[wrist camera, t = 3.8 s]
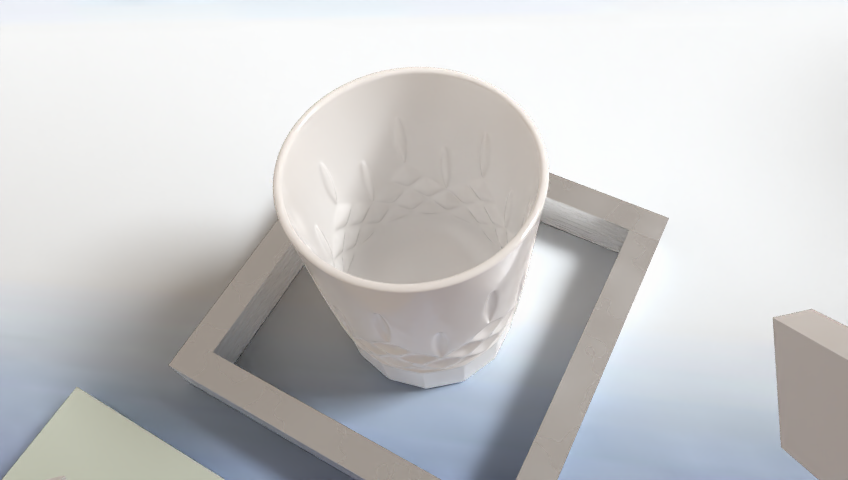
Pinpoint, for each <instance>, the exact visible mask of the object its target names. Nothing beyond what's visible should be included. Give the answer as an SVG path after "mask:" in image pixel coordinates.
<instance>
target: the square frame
mask: <svg viewBox="0 0 848 480" xmlns="http://www.w3.org/2000/svg"><path fill="white" fill-rule="evenodd" d="M668 219H669V218H667V217H665V216H662V215H659V214H657V213H654V212H651V211H649V210H646V209H644V208H641V207H638V206H636V205H633V204H630V203H628V202H625V201H623V200H620V199H617V198H615V197H612V196H609V195H607V194H604V193H601V192H599V191H596V190H594V189H591V188H588V187H586V186H583V185H580V184H578V183H575V182H573V181H570V180H567V179H565V178H562V177H559V176H557V175H554V174H552V173H549V183H548V190H547V195H546V199H545V203H544V207H543V211H542V215H541V219H540V222H543V223H545V224H548V225H550V226H553V227H555V228H558V229H560V230H563V231H565V232H568V233H570V234H572V235H575V236H577V237H580V238H582V239H585V240H587V241H590V242H592V243H595V244H597V245H600V246H602V247H604V248H607V249H609V250H612V251H614V252H617V253H619V254H618V256H617V259H616V261H615V263H614V265H613V267H612V270H611V272H610V274H609V276H608V278H607V281H606V283H605V285H604V287H603V289H602V292H601V294H600V296H599V298H598V300H597V303H596V305H595V307H594V309H593V311H592V314H591V316H590V318H589V320H588V322H587V325H586V327H585V329H584V331H583V333H582V336H581V338H580V340H579V342H578V344H577V347H576V349H575V351H574V353H573V355H572V358H571V360H570V362H569V364H568V366H567V368H566V371H565V373H564V375H563V377H562V379H561V382H560V384H559V386H558V388H557V390H556V393H555V395H554V397H553V399H552V401H551V404H550V406H549V408H548V410H547V412H546V415H545V417H544V419H543V421H542V423H541V426H540V428H539V430H538V432H537V434H536V437H535V439H534V441H533V443H532V445H531V448H530V450H529V452H528V454H527V456H526V459H525V461H524V463H523V465H522V467H521V470H520V472H519V474H518V476H517V478H516V480H557V479H558V477H559V474H560V472H561V470H562V467H563V465H564V463H565V460H566V458H567V456H568V453H569V451H570V449H571V446H572V444H573V442H574V439H575V437H576V435H577V432H578V430H579V428H580V425H581V423H582V421H583V418H584V416H585V413H586V411H587V409H588V406H589V404H590V402H591V399H592V397H593V395H594V392H595V390H596V388H597V385H598V383H599V381H600V378H601V376H602V374H603V371H604V369H605V367H606V364H607V362H608V360H609V357H610V355H611V353H612V350H613V348H614V346H615V343H616V341H617V339H618V336H619V334H620V332H621V329H622V327H623V324H624V322H625V320H626V317H627V315H628V313H629V310H630V308H631V306H632V303H633V301H634V299H635V296H636V294H637V292H638V289H639V287H640V285H641V282H642V280H643V278H644V275H645V273H646V271H647V268H648V266H649V264H650V261H651V259H652V257H653V254H654V252H655V250H656V247H657V245H658V243H659V240H660V238H661V235H662V233H663V231H664V228H665V226H666V224H667V221H668ZM303 265H304V264H303V262H302V260H301V258H300V257H299V255H298V253H297V252H296V250H295V248H294V247H293V245H292V243H291V242H290V240H289V238H288V237H287V235H286V233H285V231H284V230H283V228H282V225H281V223H280V221H279V219H278V220H277V221H276V223H275V224H274V225H273V227H272V228H271V229H270V231H269V232H268V233H267V235H266V236H265V237H264V239H263V240H262V241H261V243H260V244H259V245H258V247H257V248H256V249H255V251H254V252H253V253H252V255H251V256H250V257H249V259H248V260H247V261H246V263H245V264H244V265H243V267H242V268H241V269H240V271H239V272H238V273H237V275H236V276H235V277H234V279H233V280H232V281H231V283H230V284H229V285H228V287H227V288H226V289H225V291H224V292H223V293H222V295H221V296H220V297H219V299H218V300H217V301H216V303H215V304H214V305H213V307H212V308H211V309H210V311H209V312H208V313H207V315H206V316H205V317H204V319H203V320H202V321H201V323H200V324H199V325H198V327H197V328H196V329H195V330H194V332H193V333H192V334H191V336H190V337H189V338H188V340H187V341H186V342H185V344H184V345H183V346H182V348H181V349H180V350H179V352H178V353H177V354H176V356H175V357H174V358H173V360H172V361H171V362H170V364H169V366H170V367H171V368H172V369H173V370H175V371H176V372H177V373H178V374H179V375H181V376H182V377H183V378H184V379H185V380H187V381H188V382H189V383H191V384H193V385H194V386H196V387H198V388H199V389H201V390H203V391H205V392H206V393H208V394H210V395H211V396H213V397H215V398H217V399H218V400H220V401H222V402H223V403H225V404H227V405H229V406H230V407H232V408H234V409H235V410H237V411H239V412H241V413H242V414H244V415H246V416H247V417H249V418H251V419H253V420H254V421H256V422H258V423H259V424H261V425H263V426H265V427H266V428H268V429H270V430H271V431H273V432H275V433H277V434H278V435H280V436H282V437H283V438H285V439H287V440H289V441H290V442H292V443H294V444H295V445H297V446H299V447H301V448H302V449H304V450H306V451H307V452H309V453H311V454H313V455H314V456H316V457H318V458H319V459H321V460H323V461H325V462H326V463H328V464H330V465H331V466H333V467H335V468H337V469H338V470H340V471H342V472H343V473H345V474H347V475H349V476H350V477H352V478H354V479H355V480H441V479H439V478H437V477H435V476H434V475H432V474H430V473H428V472H426V471H425V470H423V469H421V468H419V467H417V466H416V465H414V464H412V463H410V462H408V461H407V460H405V459H403V458H401V457H400V456H398V455H396V454H394V453H392V452H391V451H389V450H387V449H385V448H383V447H382V446H380V445H378V444H376V443H374V442H373V441H371V440H369V439H367V438H365V437H364V436H362V435H360V434H358V433H357V432H355V431H353V430H351V429H349V428H348V427H346V426H344V425H342V424H340V423H339V422H337V421H335V420H333V419H331V418H330V417H328V416H326V415H324V414H322V413H321V412H319V411H317V410H315V409H314V408H312V407H310V406H308V405H306V404H305V403H303V402H301V401H299V400H297V399H296V398H294V397H292V396H290V395H288V394H287V393H285V392H283V391H281V390H279V389H278V388H276V387H274V386H272V385H271V384H269V383H267V382H265V381H263V380H262V379H260V378H258V377H256V376H254V375H253V374H251V373H249V372H247V371H245V370H244V369H242V368H240V367H238V366H236V365H235V364H234V363H235V362H236V360H237V359H238V357H239V356H240V355H241V353H242V352H243V350H244V349H245V348H246V346H247V345H248V343H249V342H250V340H251V339H252V338H253V336H254V335H255V333H256V332H257V330H258V329H259V328H260V326H261V325H262V323H263V322H264V321H265V319H266V318H267V316H268V315H269V313H270V312H271V311H272V309H273V308H274V306H275V305H276V304H277V302H278V301H279V299H280V298H281V296H282V295H283V294H284V292H285V291H286V289H287V288H288V286H289V285H290V284H291V282H292V281H293V279H294V278H295V277H296V275H297V274H298V272H299V271H300V269H301V268H302V267H303Z"/></svg>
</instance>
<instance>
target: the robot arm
mask: <svg viewBox="0 0 848 480" xmlns="http://www.w3.org/2000/svg"><path fill="white" fill-rule="evenodd" d="M773 329H774V345H775V361H776V376H777V392H778V408H779V424H780V440H781V448H783V449H784V450H785V451H786V452H787V453H788V454H790V455H791V456H792V457H793V458H794V459H795V460H797V461H798V462H799V463H800V464H801V465H802V466H803V467H805V468H806V469H807V470H808V471H809V472H810V473H812V474H813V475H814V476H815V477H816V478H817V479H819V480H848V327H847V326H845V325H843V324H841V323H839V322H837V321H835V320H833V319H831V318H829V317H827V316H825V315H823V314H821V313H819V312H817V311H815V310H813V309H809V310H805V311H800V312H796V313H791V314H787V315H782V316H778V317H773ZM46 480H66V477H65V475H64V476H59V477H55V478H50V479H46Z"/></svg>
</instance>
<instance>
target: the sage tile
mask: <svg viewBox="0 0 848 480" xmlns="http://www.w3.org/2000/svg"><path fill="white" fill-rule="evenodd" d="M64 475H65V477H66V480H225V479H223V478H222V477H220V476H219V475H217V474H215V473H214V472H212V471H211V470H209V469H207V468H206V467H204V466H203V465H201V464H200V463H198V462H196V461H195V460H193V459H192V458H190V457H188V456H187V455H185V454H184V453H182V452H180V451H179V450H177V449H176V448H174V447H172V446H171V445H169V444H168V443H166V442H164V441H163V440H161V439H160V438H158V437H156V436H155V435H153V434H152V433H150V432H148V431H147V430H145V429H144V428H142V427H141V426H139V425H137V424H136V423H134V422H133V421H131V420H129V419H128V418H126V417H125V416H123V415H121V414H120V413H118V412H117V411H115V410H113V409H112V408H110V407H109V406H107V405H105V404H104V403H102V402H101V401H99V400H97V399H96V398H94V397H93V396H91V395H89V394H88V393H86V392H84V391H83V390H81V389H79V388H78V387H76V388H75V390H74V391H73V392H72V393H71V395H70V396H69V397H68V398H67V400H66V401H65V402H64V403H63V404H62V406H61V407H60V408H59V409H58V411H57V412H56V413H55V414H54V416H53V417H52V418H51V419H50V421H49V422H48V423H47V424H46V426H45V427H44V428H43V429H42V430H41V432H40V433H39V434H38V435H37V437H36V438H35V439H34V440H33V442H32V443H31V444H30V445H29V447H28V448H27V449H26V450H25V452H24V453H23V454H22V455H21V456H20V458H19V459H18V460H17V461H16V463H15V464H14V465H13V466H12V468H11V469H10V470H9V471H8V473H7V474H6V475H5V476H4V478H3V479H2V480H46V479H50V478H55V477H59V476H64Z"/></svg>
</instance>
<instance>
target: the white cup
mask: <svg viewBox="0 0 848 480" xmlns="http://www.w3.org/2000/svg"><path fill="white" fill-rule="evenodd" d="M548 183H549V163H548V157H547V152H546V148H545V145H544V142H543V139H542V137H541V134H540V132H539V130H538V129H537V127H536V125H535V123H534V122H533V120H532V119H531V118H530V116H529V115H528V114H527V112H526V111H525V110H524V109H523V108H522V107H521V106H520V105H519V104H518V103H517V102H516V101H515V100H514V99H512V98H511V97H510V96H509V95H507V94H506V93H505V92H503V91H502V90H500V89H499V88H497V87H495V86H493V85H492V84H490V83H488V82H486V81H484V80H481V79H479V78H477V77H474V76H471V75H468V74H465V73H462V72H458V71H453V70H448V69H442V68H433V67H406V68H396V69H390V70H385V71H380V72H376V73H372V74H369V75H366V76H363V77H360V78H358V79H355V80H353V81H350V82H348V83H346V84H344V85H342V86H340V87H338V88H337V89H335V90H333V91H332V92H330V93H328V94H327V95H325V96H324V97H323V98H321V99H320V100H319V101H317V102H316V103H315V104H314V105H313V106H312V107H310V108H309V109H308V110H307V111H306V112H305V113H304V114H303V115H302V117H301V118H300V119H299V120H298V121H297V122H296V124H295V125H294V126H293V128H292V129H291V131H290V132H289V134H288V135H287V137H286V139H285V141H284V143H283V145H282V147H281V149H280V152H279V154H278V157H277V161H276V165H275V169H274V176H273V197H274V204H275V208H276V212H277V215H278V218H279V221H280V223H281V225H282V228H283V230H284V231H285V233H286V235H287V237H288V238H289V240H290V242H291V243H292V245H293V247H294V248H295V250H296V252H297V253H298V255H299V257H300V258H301V260H302V262H303V264H304V265H305V267H306V269H307V271H308V272H309V274H310V276H311V278H312V279H313V281H314V283H315V284H316V286H317V288H318V290H319V291H320V293H321V295H322V296H323V298H324V300H325V301H326V303H327V304H328V306H329V307H330V309H331V310H332V312H333V313H334V315H335V316H336V318H337V319H338V321H339V323H340V324H341V326H342V327H343V329H344V330H345V331H346V332H347V334H348V335H349V336H350V337H351V339H352V340H353V341H354V343H355V345H356V346H357V348H358V350H359V352H360V354H361V355H362V356H363V357H364V358H365V359H366V360H367V361H369V362H370V363H371V364H372V365H373V366H374V367H376V368H377V369H378V370H379V371H380V372H381V373H383V374H384V375H385V376H386V377H387V378H388V379H390V380H394V381H398V382H402V383H406V384H410V385H414V386H418V387H421V388H425V389H427V388H432V387H438V386H443V385H448V384H453V383H458V382H463V381H465V380H467V379H468V378H469V377H471V376H472V375H474V374H475V373H476V372H478V371H479V370H480V369H482V368H483V367H484V366H486V365H487V364H488V363H490V362H491V361H493V360H494V359H495V357H496V355H497V353H498V351H499V349H500V347H501V345H502V344H503V342H504V340H505V338H506V336H507V334H508V332H509V330H510V328H511V325H512V320H513V317H514V314H515V312H516V309H517V306H518V303H519V300H520V297H521V294H522V289H523V286H524V283H525V280H526V276H527V273H528V269H529V265H530V260H531V256H532V252H533V248H534V244H535V239H536V235H537V231H538V227H539V223H540V219H541V215H542V211H543V207H544V203H545V199H546V195H547V190H548Z"/></svg>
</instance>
